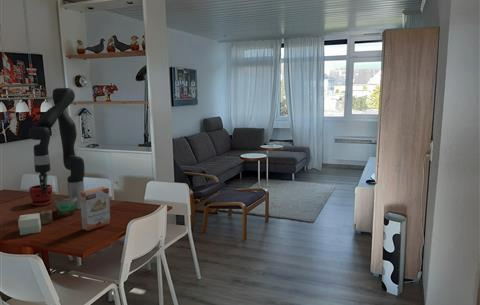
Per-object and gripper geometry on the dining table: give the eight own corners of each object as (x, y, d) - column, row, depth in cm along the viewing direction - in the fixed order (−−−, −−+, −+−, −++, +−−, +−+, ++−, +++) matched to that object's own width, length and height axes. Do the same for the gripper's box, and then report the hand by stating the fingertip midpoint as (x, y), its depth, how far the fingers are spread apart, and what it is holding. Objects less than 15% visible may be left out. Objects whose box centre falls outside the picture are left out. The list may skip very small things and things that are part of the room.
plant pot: (57, 202, 239) (56, 185, 238) (37, 208, 228) (35, 189, 227) (46, 199, 246) (45, 182, 244) (26, 204, 235) (25, 186, 233)
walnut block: (52, 220, 207) (51, 210, 206) (52, 222, 203) (51, 212, 202) (42, 221, 205) (41, 211, 204) (41, 224, 200) (41, 213, 200)
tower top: (40, 220, 196) (39, 213, 195) (38, 225, 188) (38, 218, 187) (21, 222, 192) (20, 215, 192) (18, 228, 184) (18, 220, 184)
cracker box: (88, 231, 190) (85, 193, 186) (81, 229, 193) (79, 191, 190) (111, 224, 201) (109, 187, 198) (104, 221, 205) (102, 186, 201)
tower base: (41, 227, 197) (40, 220, 196) (40, 232, 189) (39, 225, 188) (22, 229, 193) (21, 222, 192) (20, 235, 185) (19, 228, 184)
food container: (55, 218, 210) (54, 201, 208) (55, 215, 215) (53, 199, 213) (78, 215, 215) (77, 199, 214) (77, 212, 221) (76, 196, 219)
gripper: (49, 164, 193) (51, 194, 196) (50, 160, 206) (52, 187, 209) (33, 166, 190) (35, 195, 193) (35, 161, 203) (37, 189, 206)
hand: (44, 191), depth 201 cm, fingers open, 8 cm apart
